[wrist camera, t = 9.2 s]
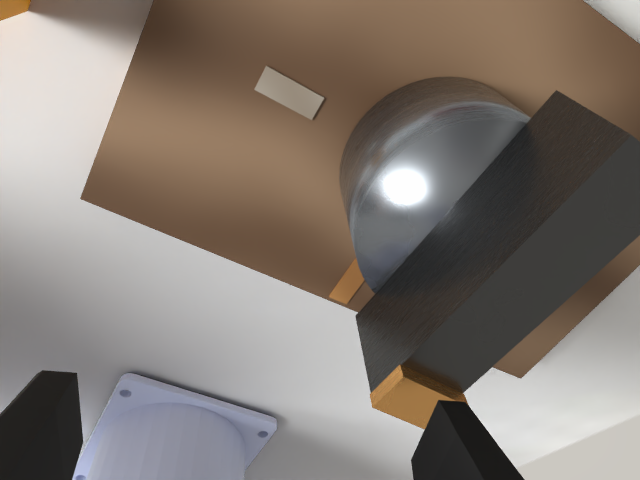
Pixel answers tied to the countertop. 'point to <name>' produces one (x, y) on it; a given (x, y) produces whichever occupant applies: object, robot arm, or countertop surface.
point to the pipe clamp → (13, 7)
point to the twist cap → (475, 228)
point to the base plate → (331, 121)
